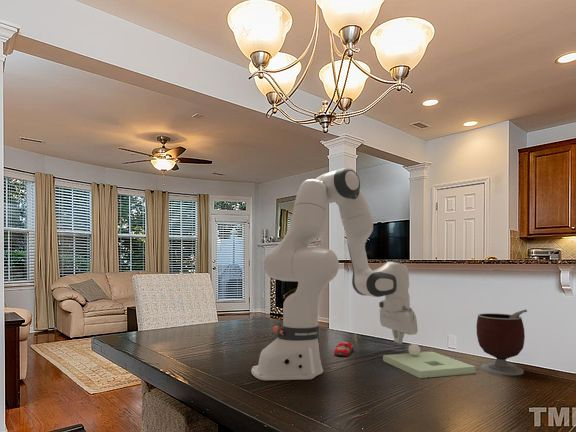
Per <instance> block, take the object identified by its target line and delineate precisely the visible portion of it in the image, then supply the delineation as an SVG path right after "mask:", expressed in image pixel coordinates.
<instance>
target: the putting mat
mask: <svg viewBox="0 0 576 432" xmlns="http://www.w3.org/2000/svg"><path fill="white" fill-rule="evenodd" d="M382 361H383V362H385V363H386V364H389V365H391V366H393V367H395V368H398V369H400V370H402V371H404V372H406V373H408V374H410V375H412V376H414V377H416V378H418V379H426V378H428V377H429V378H436V377H448V376H449V377H450V376H457V375H458V376H460V375H461V376H462V375H469V374H472V375H473V374H477V373H476V366H475V365H471V364H469V363H466V362H463V361H460V360H458V359H455V358H452V357H449V356H447V355H444V354H441V353H438V352H436V351H435V352H434V351H420V353H419V355H417V356H413V355H411V354H410V353H409V352H406V353H405V352H404V353H393V354H383V355H382ZM429 378H428V379H429Z"/></svg>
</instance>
